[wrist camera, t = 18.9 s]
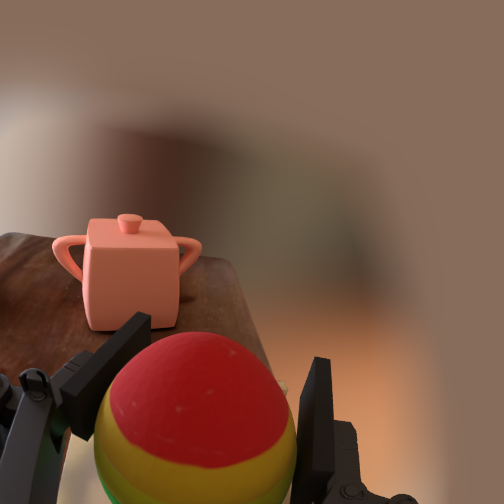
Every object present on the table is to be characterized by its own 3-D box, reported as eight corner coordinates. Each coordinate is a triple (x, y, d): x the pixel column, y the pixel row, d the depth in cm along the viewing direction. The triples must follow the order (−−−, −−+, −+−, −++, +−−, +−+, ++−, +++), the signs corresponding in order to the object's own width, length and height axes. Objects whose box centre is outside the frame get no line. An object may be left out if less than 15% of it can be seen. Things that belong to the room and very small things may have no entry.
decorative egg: (265, 575, 8) (363, 476, 5) (86, 530, 8) (10, 385, 5) (273, 453, 16) (324, 308, 13) (138, 423, 16) (134, 269, 13)
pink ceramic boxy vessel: (211, 329, 44) (225, 234, 40) (53, 337, 34) (44, 230, 29) (174, 272, 61) (183, 201, 56) (61, 273, 50) (61, 196, 46)
